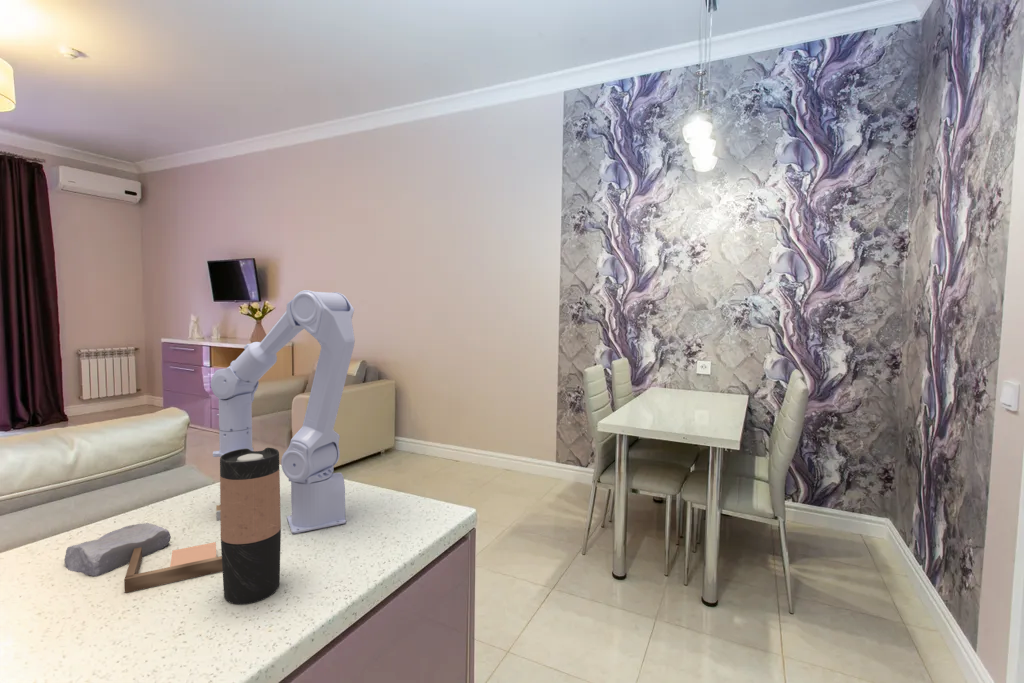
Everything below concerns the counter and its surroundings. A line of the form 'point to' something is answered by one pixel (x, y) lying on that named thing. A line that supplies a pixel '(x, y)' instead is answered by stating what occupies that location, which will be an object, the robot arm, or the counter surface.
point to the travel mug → (250, 524)
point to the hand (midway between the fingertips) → (237, 495)
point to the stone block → (115, 548)
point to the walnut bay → (166, 572)
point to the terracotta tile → (193, 554)
